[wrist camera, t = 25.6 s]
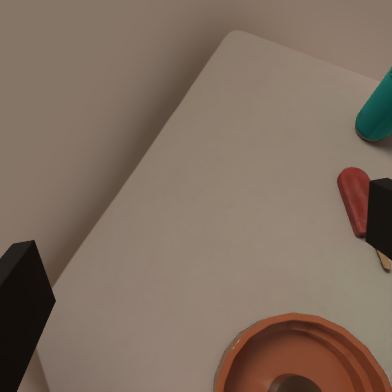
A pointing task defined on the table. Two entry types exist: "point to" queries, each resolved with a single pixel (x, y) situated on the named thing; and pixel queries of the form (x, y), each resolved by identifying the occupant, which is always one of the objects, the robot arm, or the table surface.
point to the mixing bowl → (298, 357)
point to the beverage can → (377, 113)
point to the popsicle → (357, 202)
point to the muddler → (293, 384)
